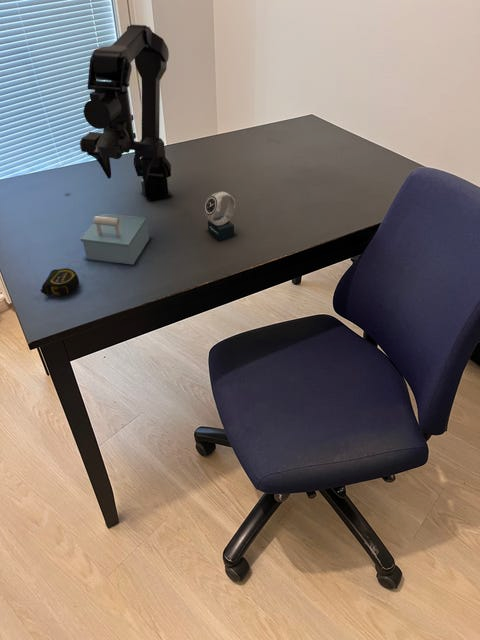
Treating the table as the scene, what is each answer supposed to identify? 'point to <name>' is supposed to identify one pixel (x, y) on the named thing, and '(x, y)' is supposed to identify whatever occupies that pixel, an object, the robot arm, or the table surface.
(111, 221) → the compartment lid
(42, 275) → the table surface
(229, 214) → the watch
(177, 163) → the table surface
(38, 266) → the table surface
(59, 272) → the tape measure
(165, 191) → the robot arm
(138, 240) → the compartment
